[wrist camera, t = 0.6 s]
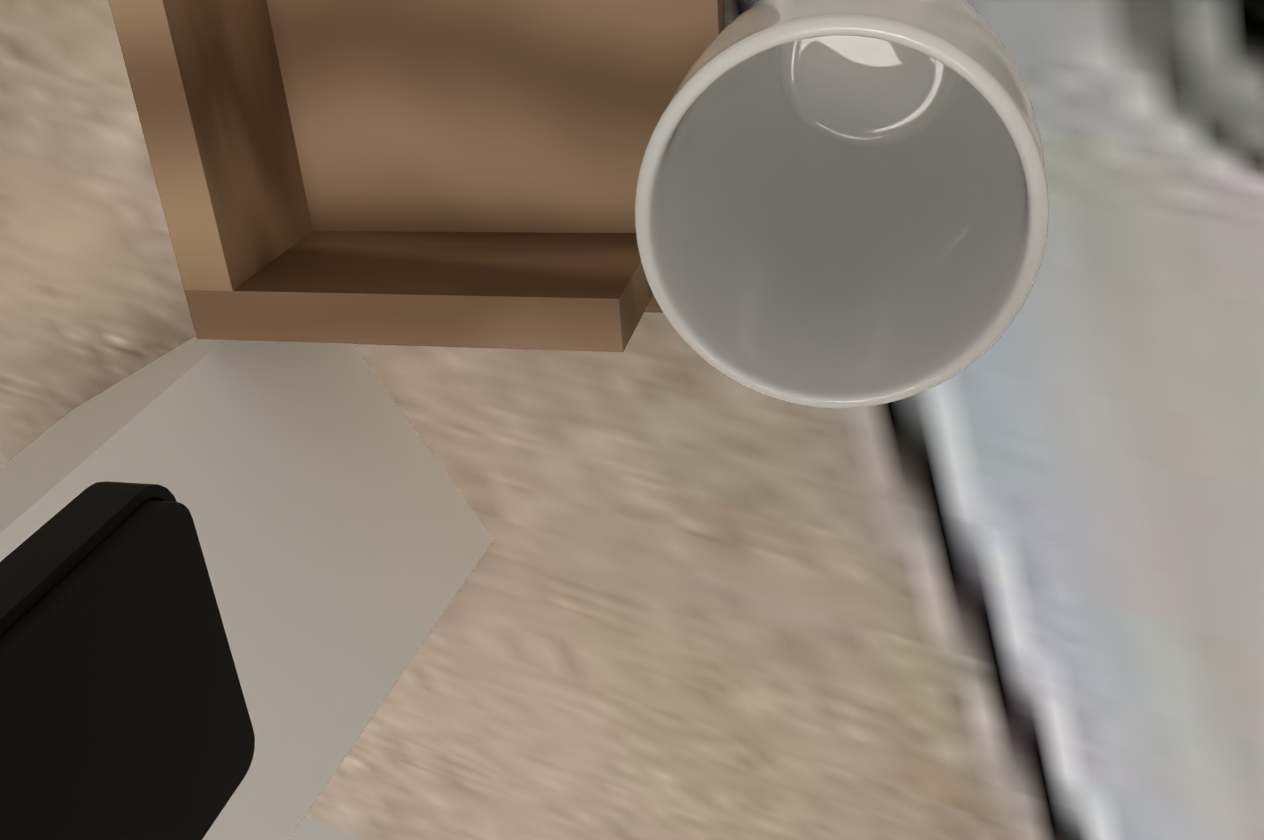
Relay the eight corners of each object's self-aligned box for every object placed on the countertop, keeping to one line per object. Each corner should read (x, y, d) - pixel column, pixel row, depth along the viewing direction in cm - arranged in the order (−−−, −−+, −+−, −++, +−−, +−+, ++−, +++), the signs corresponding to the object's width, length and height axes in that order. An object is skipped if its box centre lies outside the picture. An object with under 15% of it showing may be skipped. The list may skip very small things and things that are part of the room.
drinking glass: (748, 168, 34) (639, 407, 21) (744, -86, 31) (613, 17, 18) (993, 168, 33) (1034, 425, 20) (1015, -99, 30) (1079, 3, 17)
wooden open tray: (732, 300, 36) (699, 388, 31) (259, 291, 40) (159, 369, 35) (715, -264, 29) (669, -271, 24) (142, -215, 33) (-4, -211, 28)
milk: (265, 633, 48) (-309, 1379, 26) (78, 404, 44) (-776, 1041, 22) (498, 533, 43) (35, 1351, 21) (307, 267, 40) (-495, 909, 17)
